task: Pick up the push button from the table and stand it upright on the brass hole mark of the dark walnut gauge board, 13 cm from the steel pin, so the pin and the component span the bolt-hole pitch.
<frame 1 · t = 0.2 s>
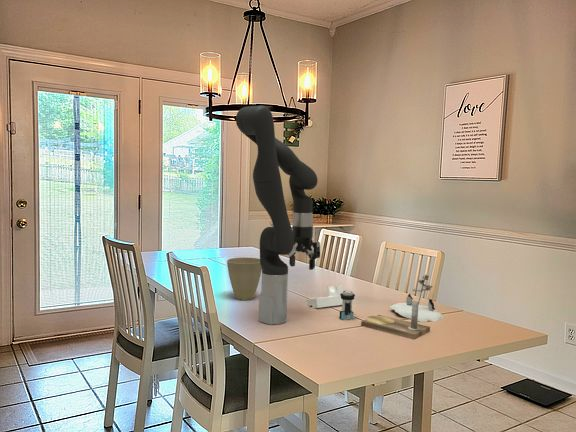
hand: (302, 267, 186), 17 cm above the table, fingers open, 8 cm apart
push button: (348, 319, 183), on the table
gauge board: (395, 328, 173), on the table
plant pot: (244, 298, 208), on the table
bracket: (324, 306, 201), on the table
figurine: (415, 315, 192), on the table
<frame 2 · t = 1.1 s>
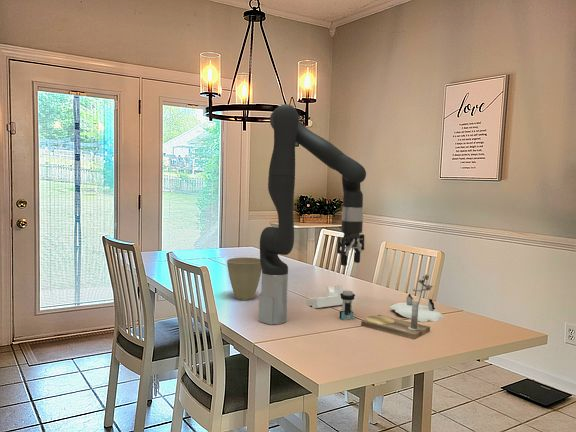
hand: (350, 263, 182), 20 cm above the table, fingers open, 8 cm apart
nothing on the table moved.
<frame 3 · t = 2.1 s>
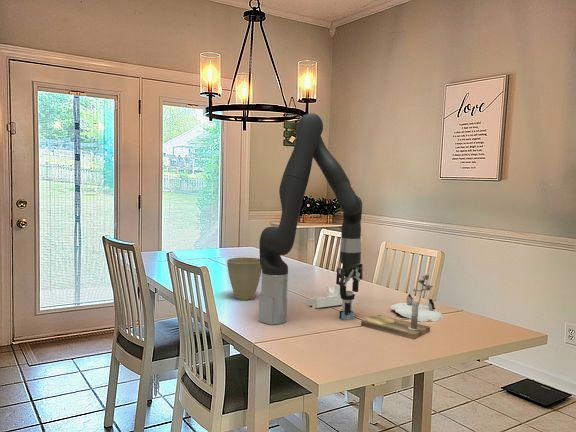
hand: (349, 293, 184), 9 cm above the table, fingers open, 8 cm apart
push button: (348, 319, 183), on the table, touching gripper
everything else where it was.
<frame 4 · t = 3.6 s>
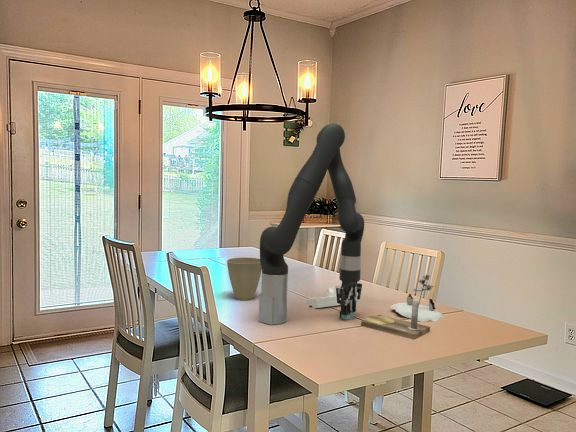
hand: (348, 313, 183), 2 cm above the table, fingers closed on push button, 5 cm apart
push button: (348, 319, 183), on the table, touching gripper
everything else where it was.
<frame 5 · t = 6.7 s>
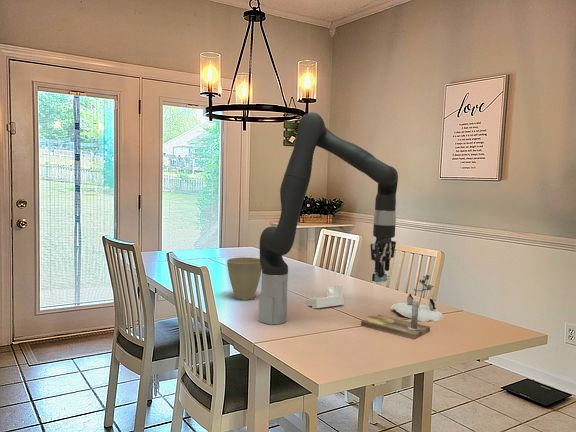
hand: (382, 271, 176), 19 cm above the table, fingers closed on push button, 5 cm apart
push button: (381, 281, 177), point 15 cm above the table, touching gripper
everything else where it was.
when the fingers open (5 cm above the table, at t = 10.1 s): push button stays where it is, resting on gauge board.
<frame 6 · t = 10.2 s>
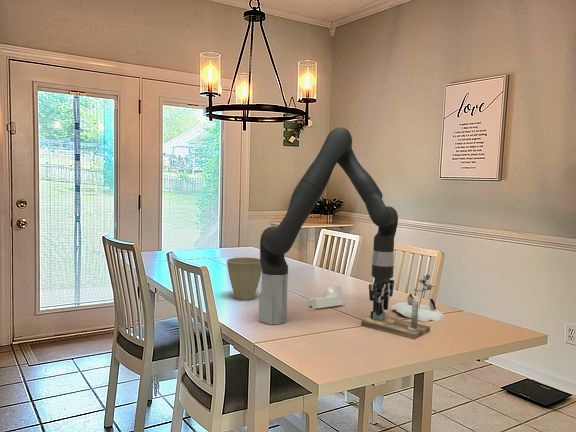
hand: (380, 310, 177), 5 cm above the table, fingers open, 5 cm apart
push button: (379, 319, 178), point 2 cm above the table, touching gauge board
everything else where it was.
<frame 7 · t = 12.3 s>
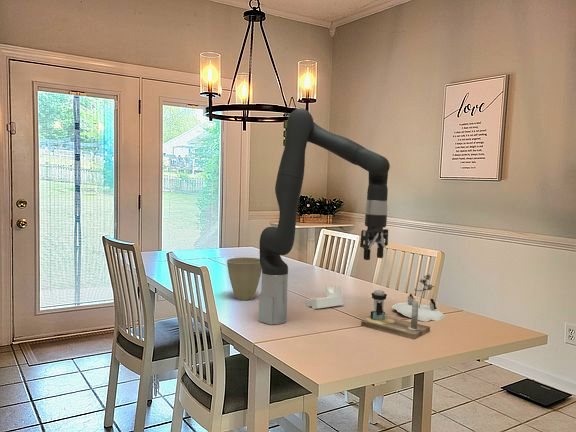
hand: (373, 258, 178), 23 cm above the table, fingers open, 8 cm apart
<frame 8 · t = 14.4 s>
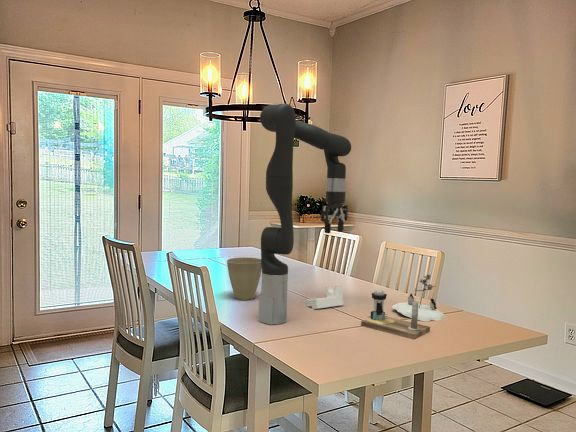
hand: (334, 232, 193), 30 cm above the table, fingers open, 8 cm apart
at the end: push button 1.1 cm from the target spot on the gauge board, point 1.5 cm above the gauge board's base; push button tilted 0°; the gripper is holding nothing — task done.
